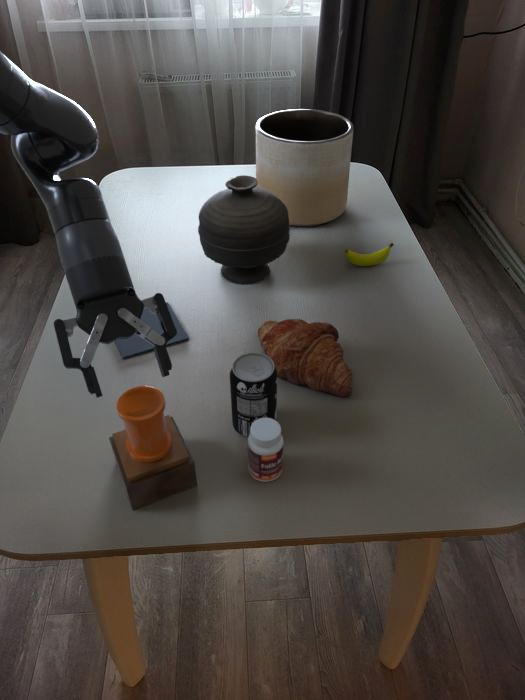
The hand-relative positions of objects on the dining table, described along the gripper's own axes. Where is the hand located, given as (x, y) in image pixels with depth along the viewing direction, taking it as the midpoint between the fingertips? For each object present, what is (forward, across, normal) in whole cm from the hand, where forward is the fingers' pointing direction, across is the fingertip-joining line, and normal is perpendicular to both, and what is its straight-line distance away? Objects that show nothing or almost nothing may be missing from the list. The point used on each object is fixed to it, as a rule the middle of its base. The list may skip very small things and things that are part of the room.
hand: (133, 386), depth 70 cm
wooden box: (+12, 0, +8) cm, 14 cm away
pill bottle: (+16, +14, +4) cm, 22 cm away
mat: (-10, +8, +30) cm, 32 cm away
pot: (-17, +32, +37) cm, 52 cm away
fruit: (-10, +56, +30) cm, 65 cm away
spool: (+8, 0, +4) cm, 9 cm away
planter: (-31, +56, +51) cm, 82 cm away
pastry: (+4, +29, +16) cm, 33 cm away
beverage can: (+11, +16, +9) cm, 21 cm away
